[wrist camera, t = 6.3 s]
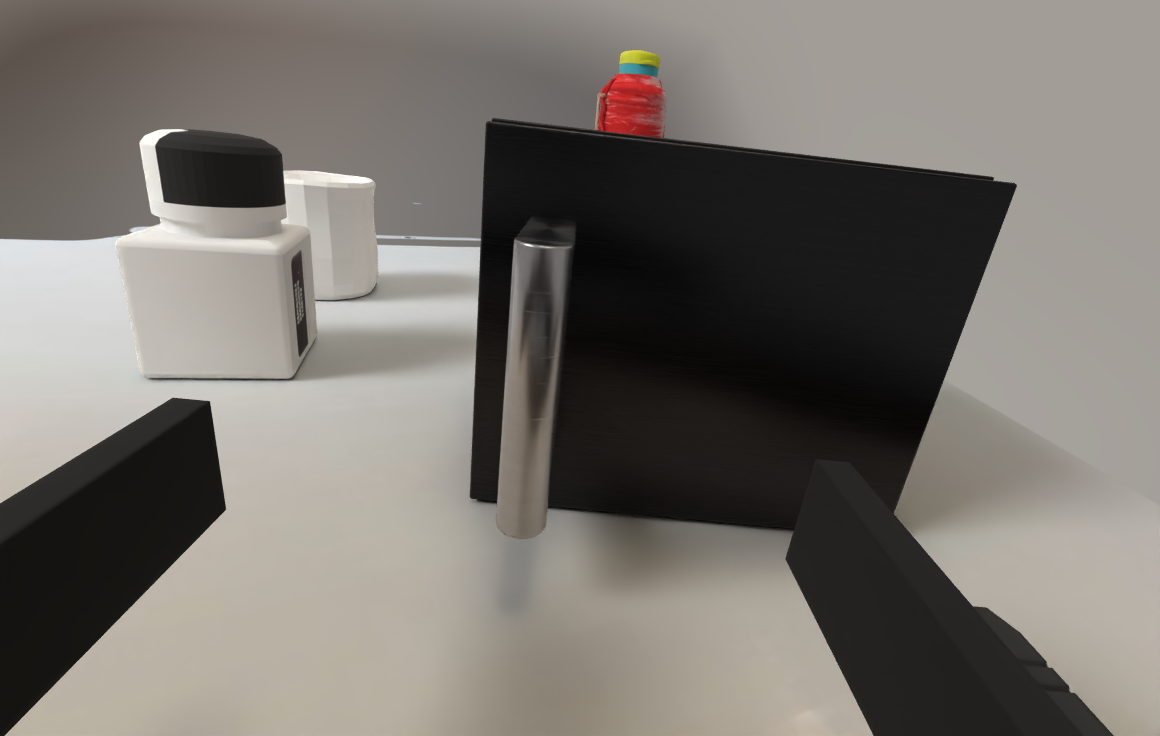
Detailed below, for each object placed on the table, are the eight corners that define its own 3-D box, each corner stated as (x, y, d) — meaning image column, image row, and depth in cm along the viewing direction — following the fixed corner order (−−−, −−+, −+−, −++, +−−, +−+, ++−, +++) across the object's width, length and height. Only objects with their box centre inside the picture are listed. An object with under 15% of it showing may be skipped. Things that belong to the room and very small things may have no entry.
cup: (353, 271, 58) (349, 172, 54) (402, 295, 52) (402, 185, 48) (251, 278, 51) (239, 166, 48) (295, 307, 45) (284, 180, 41)
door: (972, 650, 19) (1194, 197, 13) (435, 603, 18) (444, 108, 13) (874, 523, 25) (998, 181, 20) (473, 486, 24) (490, 122, 19)
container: (318, 337, 39) (305, 139, 35) (293, 381, 32) (272, 141, 28) (193, 334, 37) (161, 124, 33) (138, 380, 31) (87, 122, 26)
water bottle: (571, 281, 64) (597, 34, 55) (546, 266, 71) (565, 43, 62) (659, 282, 70) (696, 55, 60) (628, 267, 76) (657, 61, 67)
